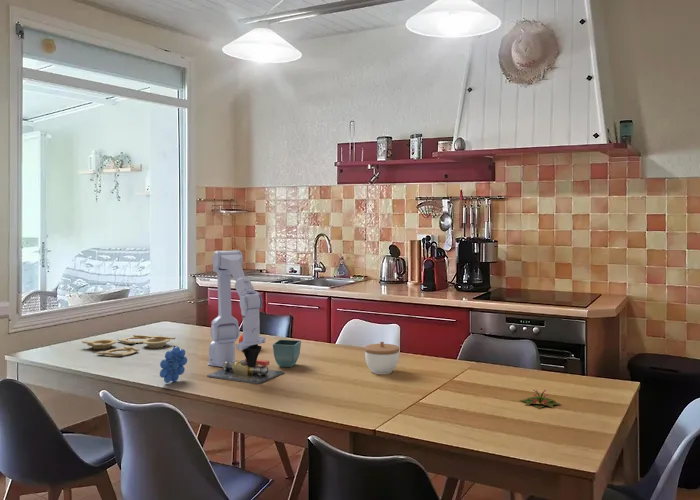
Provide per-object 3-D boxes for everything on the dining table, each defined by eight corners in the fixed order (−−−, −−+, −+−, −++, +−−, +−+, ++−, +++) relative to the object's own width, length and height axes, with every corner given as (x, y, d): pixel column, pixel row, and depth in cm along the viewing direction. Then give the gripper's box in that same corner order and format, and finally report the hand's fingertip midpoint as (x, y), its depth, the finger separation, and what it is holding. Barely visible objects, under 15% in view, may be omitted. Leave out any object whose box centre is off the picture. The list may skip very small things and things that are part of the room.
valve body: (207, 376, 221) (206, 364, 221) (234, 366, 235) (234, 355, 235) (259, 384, 211) (258, 371, 211) (284, 373, 226) (284, 361, 225)
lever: (238, 363, 224) (238, 358, 224) (244, 362, 226) (244, 356, 226) (264, 367, 218) (264, 362, 218) (270, 365, 221) (270, 360, 221)
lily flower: (537, 413, 182) (538, 397, 182) (511, 401, 193) (511, 387, 193) (569, 407, 187) (569, 392, 187) (541, 396, 198) (542, 382, 198)
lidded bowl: (404, 369, 230) (404, 340, 229) (391, 378, 219) (392, 347, 218) (372, 366, 235) (372, 337, 235) (359, 374, 224) (359, 343, 223)
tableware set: (142, 337, 292) (142, 328, 292) (183, 345, 275) (183, 335, 275) (71, 351, 264) (71, 341, 264) (112, 360, 247) (112, 350, 247)
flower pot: (295, 369, 232) (294, 345, 231) (272, 367, 233) (272, 344, 233) (301, 363, 240) (301, 340, 240) (279, 362, 242) (279, 339, 241)
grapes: (178, 376, 222) (177, 342, 221) (191, 378, 218) (191, 344, 217) (151, 383, 212) (151, 348, 211) (165, 386, 208) (164, 351, 208)
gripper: (248, 332, 207) (249, 373, 208) (272, 325, 220) (272, 363, 221) (231, 331, 211) (231, 370, 211) (255, 324, 224) (256, 361, 224)
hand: (251, 367), depth 217 cm, fingers closed
